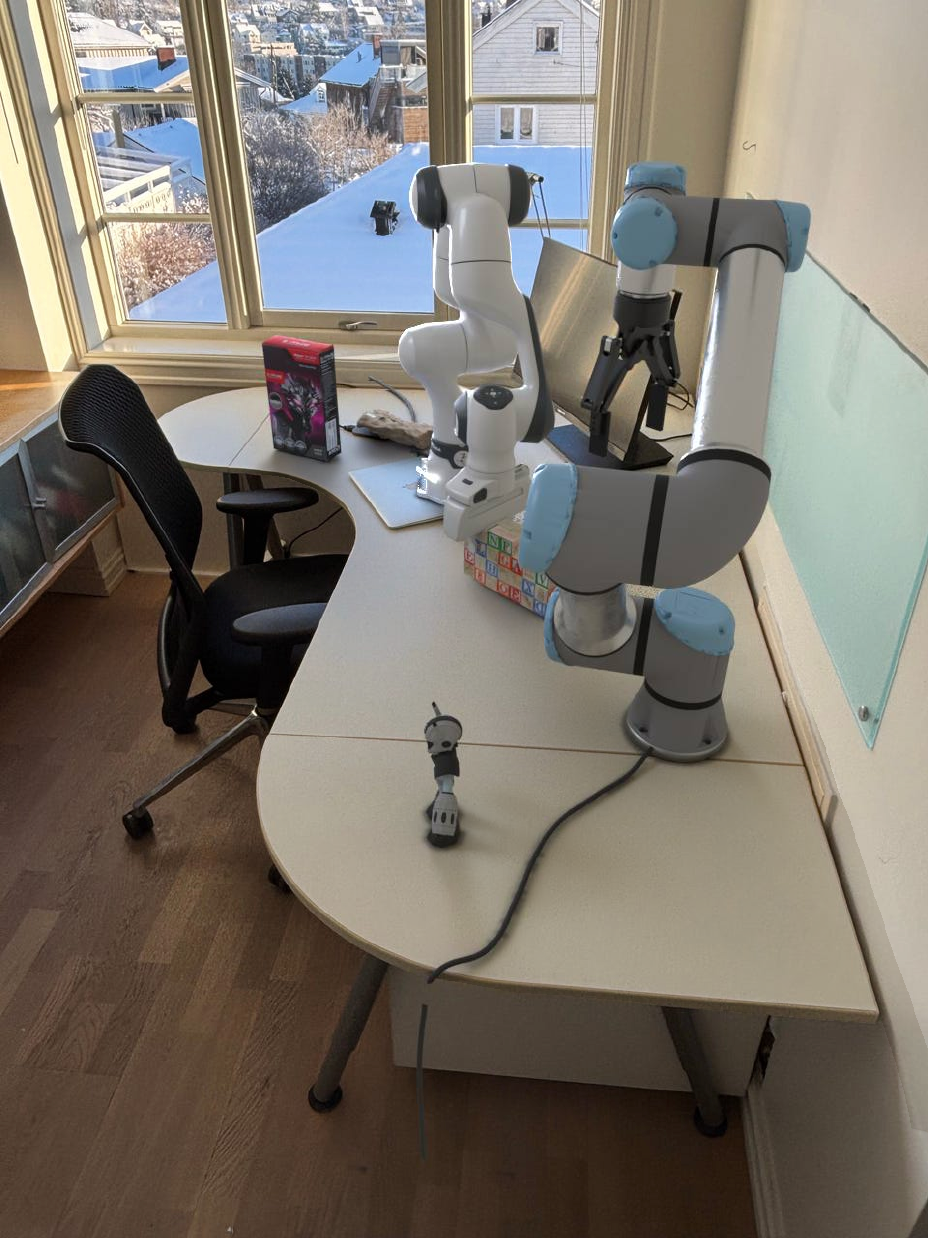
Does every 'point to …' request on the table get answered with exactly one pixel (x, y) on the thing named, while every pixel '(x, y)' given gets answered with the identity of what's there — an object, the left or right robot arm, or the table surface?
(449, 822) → the robot
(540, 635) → the table surface
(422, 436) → the stone
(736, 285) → the right robot arm
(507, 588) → the stack of blocks
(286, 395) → the graphics card box
